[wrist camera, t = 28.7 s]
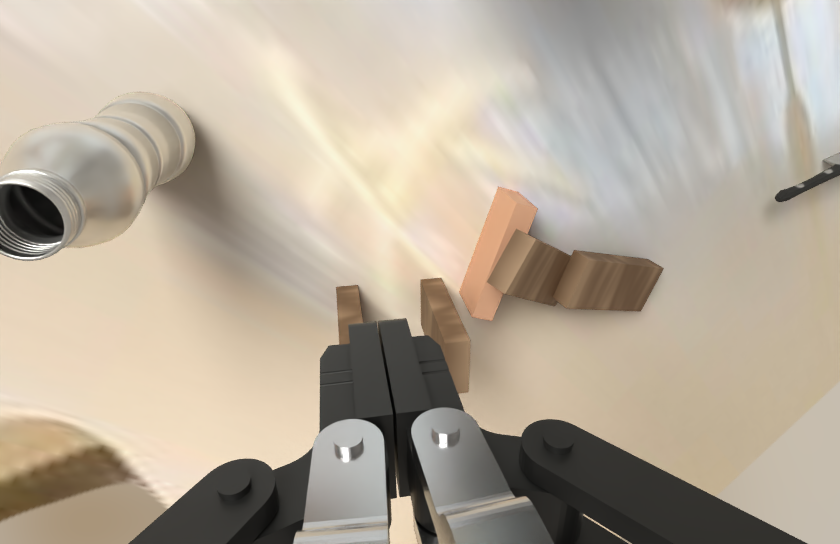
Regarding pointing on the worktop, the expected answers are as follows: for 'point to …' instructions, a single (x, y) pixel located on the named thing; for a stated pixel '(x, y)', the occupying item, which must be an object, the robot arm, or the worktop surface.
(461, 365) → the domino
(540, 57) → the worktop surface
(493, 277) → the domino
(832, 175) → the chef's knife
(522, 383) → the worktop surface
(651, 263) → the domino
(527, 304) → the worktop surface
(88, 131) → the plastic bottle
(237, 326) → the worktop surface
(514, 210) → the domino
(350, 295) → the domino
